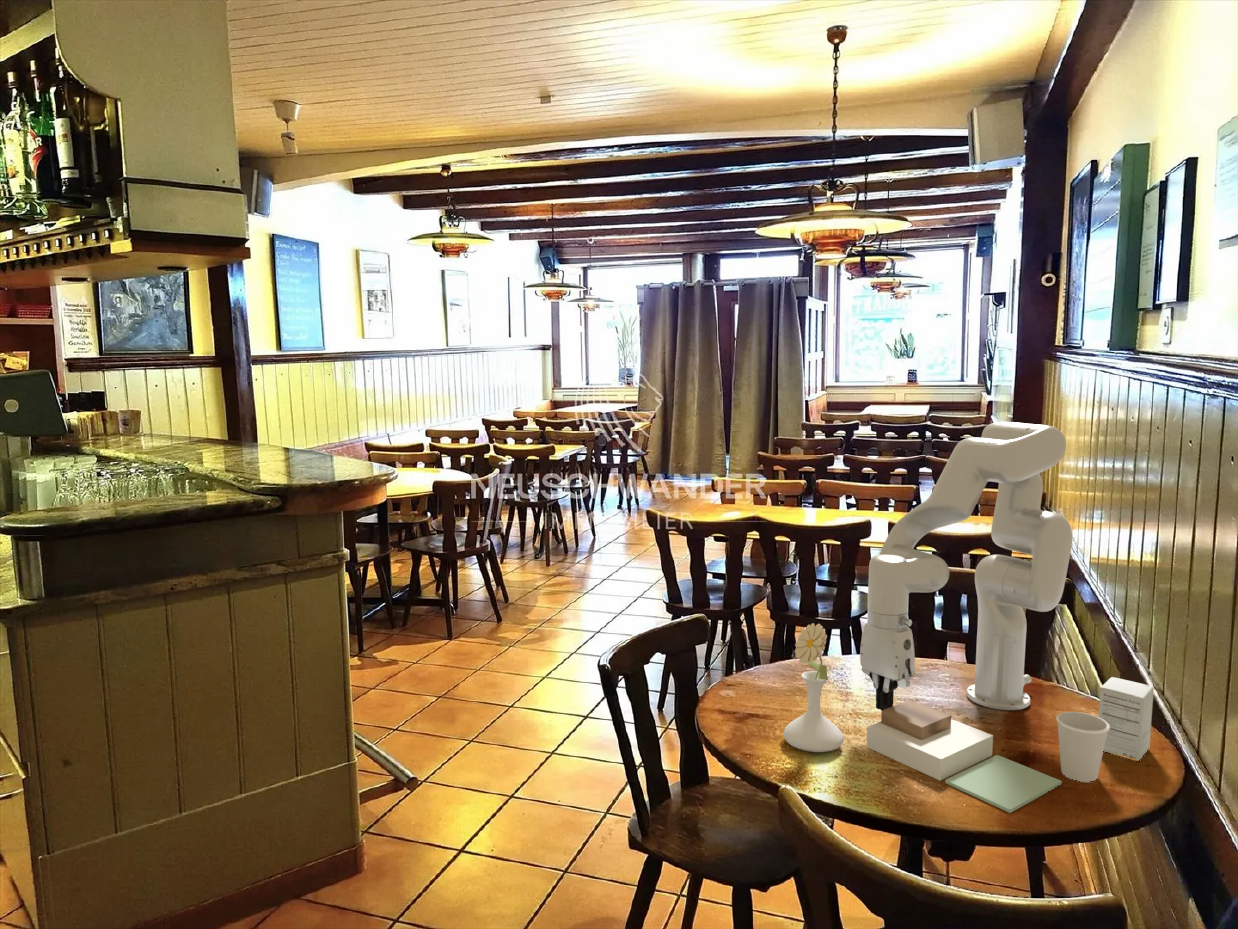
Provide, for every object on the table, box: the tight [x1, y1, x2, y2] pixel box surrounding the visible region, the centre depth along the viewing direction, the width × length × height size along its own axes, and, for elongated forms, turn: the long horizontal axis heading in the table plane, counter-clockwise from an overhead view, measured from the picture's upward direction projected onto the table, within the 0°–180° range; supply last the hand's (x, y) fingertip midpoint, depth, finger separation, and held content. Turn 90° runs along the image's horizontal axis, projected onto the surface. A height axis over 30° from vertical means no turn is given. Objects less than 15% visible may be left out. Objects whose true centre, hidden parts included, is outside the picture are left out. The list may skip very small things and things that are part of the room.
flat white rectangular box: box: [866, 718, 994, 782], centre depth 160 cm, size 16×16×4 cm
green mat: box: [944, 754, 1062, 814], centre depth 148 cm, size 16×12×1 cm
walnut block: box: [880, 699, 952, 740], centre depth 162 cm, size 9×9×2 cm
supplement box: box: [1097, 676, 1155, 761], centre depth 159 cm, size 7×7×13 cm
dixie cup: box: [1055, 711, 1110, 783], centre depth 150 cm, size 8×8×10 cm
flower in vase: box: [782, 623, 845, 753], centre depth 161 cm, size 13×11×25 cm
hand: (884, 708), depth 168 cm, fingers closed
